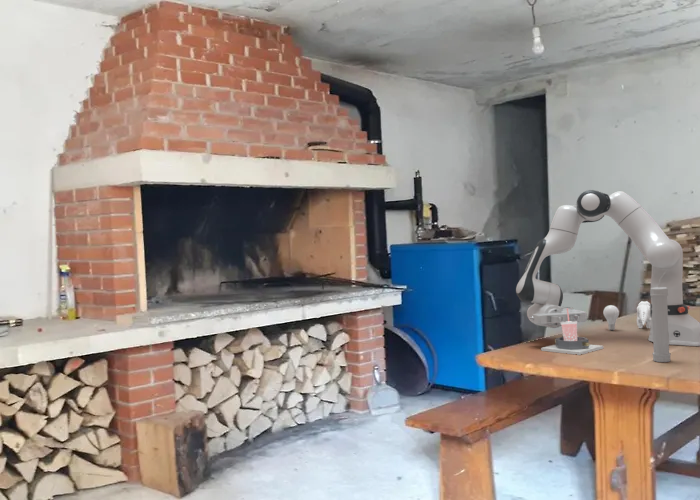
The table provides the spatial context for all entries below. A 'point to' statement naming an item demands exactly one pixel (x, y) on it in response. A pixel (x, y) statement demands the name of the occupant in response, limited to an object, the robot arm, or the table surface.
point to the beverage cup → (569, 329)
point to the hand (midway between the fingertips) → (569, 319)
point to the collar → (572, 343)
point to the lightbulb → (611, 316)
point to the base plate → (575, 351)
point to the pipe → (660, 324)
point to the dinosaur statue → (643, 314)
